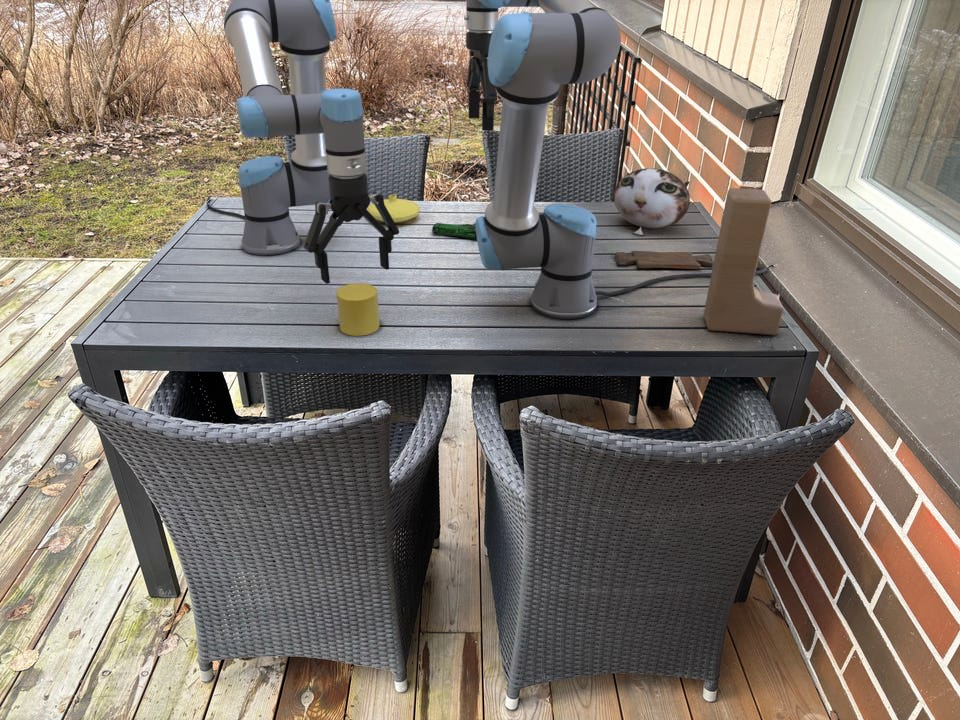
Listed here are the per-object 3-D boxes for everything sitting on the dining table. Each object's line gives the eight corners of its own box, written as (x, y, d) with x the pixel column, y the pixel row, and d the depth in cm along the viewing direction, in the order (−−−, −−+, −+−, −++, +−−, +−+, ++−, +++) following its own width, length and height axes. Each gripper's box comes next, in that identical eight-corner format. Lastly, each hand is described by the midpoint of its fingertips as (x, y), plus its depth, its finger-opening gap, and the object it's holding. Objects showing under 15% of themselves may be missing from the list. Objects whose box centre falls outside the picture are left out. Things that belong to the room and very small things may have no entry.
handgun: (502, 218, 210) (482, 233, 198) (502, 228, 212) (482, 243, 199) (452, 211, 216) (430, 225, 203) (452, 221, 217) (430, 235, 205)
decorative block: (777, 336, 155) (812, 202, 140) (707, 331, 157) (733, 198, 142) (770, 320, 162) (802, 191, 146) (702, 315, 163) (727, 187, 148)
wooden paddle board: (717, 272, 186) (707, 257, 194) (718, 266, 185) (709, 251, 193) (618, 268, 186) (613, 254, 195) (619, 262, 185) (613, 248, 194)
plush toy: (594, 216, 205) (617, 152, 207) (611, 239, 221) (631, 180, 223) (669, 229, 195) (692, 162, 196) (681, 253, 210) (702, 191, 212)
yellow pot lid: (391, 206, 226) (390, 184, 222) (430, 216, 218) (430, 194, 214) (356, 220, 215) (355, 197, 211) (396, 231, 207) (395, 207, 203)
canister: (387, 323, 158) (385, 289, 154) (362, 339, 152) (359, 303, 148) (357, 314, 162) (354, 279, 158) (331, 329, 156) (327, 293, 152)
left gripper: (293, 188, 131) (306, 293, 142) (412, 169, 143) (416, 267, 154) (279, 178, 136) (292, 280, 147) (395, 161, 149) (399, 256, 159)
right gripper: (454, 25, 178) (455, 113, 188) (479, 37, 157) (478, 136, 168) (483, 25, 179) (482, 112, 190) (512, 37, 159) (509, 134, 169)
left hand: (355, 274), depth 151 cm, fingers open, 13 cm apart
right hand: (480, 124), depth 179 cm, fingers open, 13 cm apart
